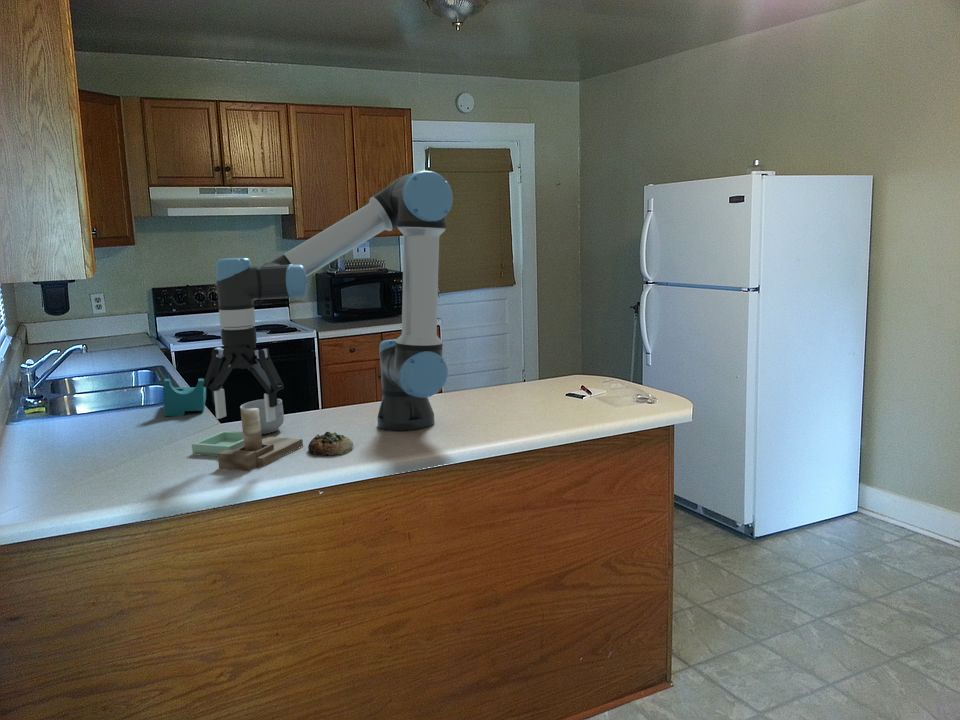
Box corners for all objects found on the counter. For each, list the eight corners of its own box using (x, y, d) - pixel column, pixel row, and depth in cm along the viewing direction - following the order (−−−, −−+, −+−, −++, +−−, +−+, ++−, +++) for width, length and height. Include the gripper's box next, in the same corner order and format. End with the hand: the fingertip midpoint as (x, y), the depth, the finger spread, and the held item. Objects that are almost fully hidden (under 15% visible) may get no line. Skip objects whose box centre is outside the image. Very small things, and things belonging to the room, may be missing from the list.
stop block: (256, 466, 173) (255, 451, 173) (248, 470, 171) (247, 455, 170) (227, 464, 176) (225, 449, 176) (219, 468, 173) (217, 453, 173)
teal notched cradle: (203, 415, 228) (203, 380, 226) (164, 416, 225) (163, 381, 223) (206, 402, 245) (205, 370, 243) (169, 403, 242) (169, 370, 240)
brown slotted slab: (303, 448, 189) (301, 434, 188) (263, 469, 174) (261, 453, 173) (269, 446, 192) (267, 432, 191) (227, 465, 177) (225, 450, 177)
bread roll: (298, 451, 184) (299, 430, 184) (336, 446, 192) (337, 426, 192) (326, 461, 177) (327, 439, 176) (364, 455, 185) (365, 435, 184)
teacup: (273, 437, 197) (270, 407, 196) (234, 437, 200) (231, 407, 198) (296, 423, 211) (294, 395, 209) (260, 423, 213) (257, 395, 212)
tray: (260, 442, 193) (260, 433, 192) (230, 456, 182) (229, 446, 181) (224, 440, 197) (223, 430, 196) (192, 454, 186) (191, 444, 185)
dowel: (266, 449, 180) (262, 407, 179) (256, 454, 176) (252, 411, 175) (251, 449, 181) (247, 407, 180) (241, 453, 178) (237, 411, 176)
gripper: (295, 326, 172) (301, 418, 175) (203, 324, 180) (211, 412, 184) (275, 330, 165) (282, 426, 169) (181, 328, 173) (190, 419, 177)
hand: (245, 419), depth 176 cm, fingers open, 13 cm apart
